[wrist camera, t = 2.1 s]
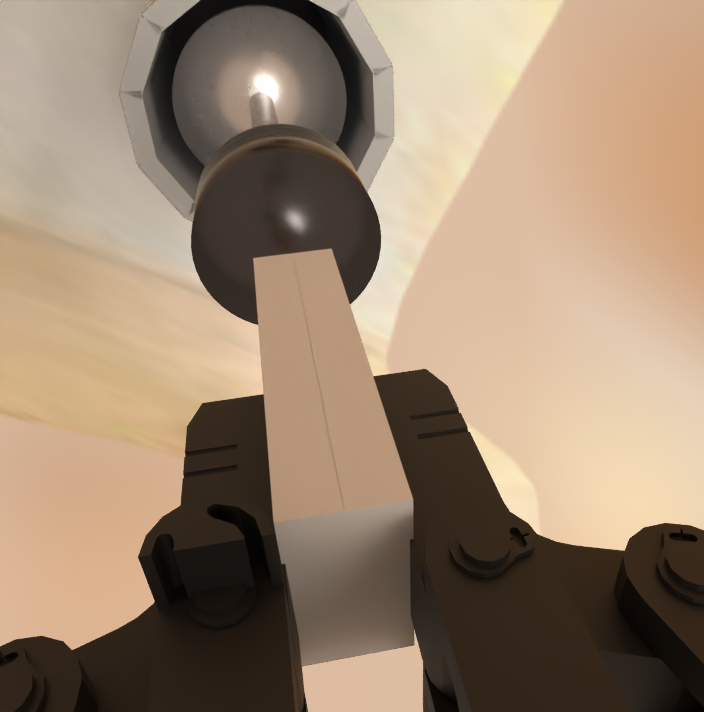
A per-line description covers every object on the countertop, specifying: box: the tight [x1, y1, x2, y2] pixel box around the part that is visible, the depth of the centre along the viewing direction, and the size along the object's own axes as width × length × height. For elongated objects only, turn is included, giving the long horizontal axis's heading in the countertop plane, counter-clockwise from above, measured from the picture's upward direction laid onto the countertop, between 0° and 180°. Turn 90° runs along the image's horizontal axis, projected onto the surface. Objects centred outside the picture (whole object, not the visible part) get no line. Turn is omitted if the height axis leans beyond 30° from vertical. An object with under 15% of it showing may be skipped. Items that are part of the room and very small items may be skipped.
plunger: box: [172, 4, 381, 325], centre depth 21 cm, size 7×7×15 cm
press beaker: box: [119, 0, 394, 222], centre depth 32 cm, size 13×11×15 cm
